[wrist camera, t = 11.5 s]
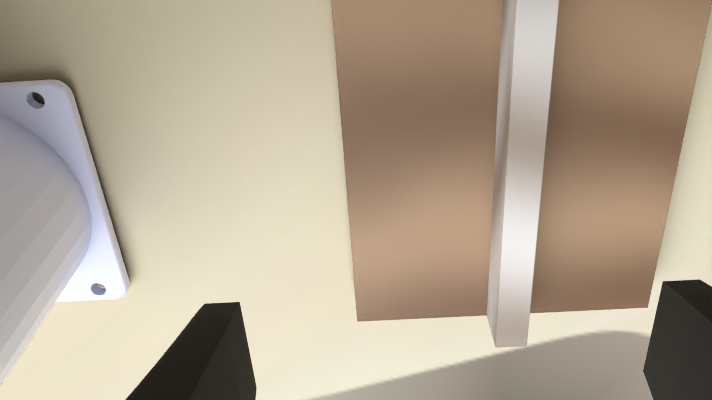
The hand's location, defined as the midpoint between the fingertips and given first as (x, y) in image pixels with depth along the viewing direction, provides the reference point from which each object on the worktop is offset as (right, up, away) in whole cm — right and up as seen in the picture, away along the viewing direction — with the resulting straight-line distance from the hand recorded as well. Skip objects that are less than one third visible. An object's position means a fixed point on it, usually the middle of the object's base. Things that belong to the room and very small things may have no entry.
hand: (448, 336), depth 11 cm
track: (+3, +10, +6) cm, 12 cm away
